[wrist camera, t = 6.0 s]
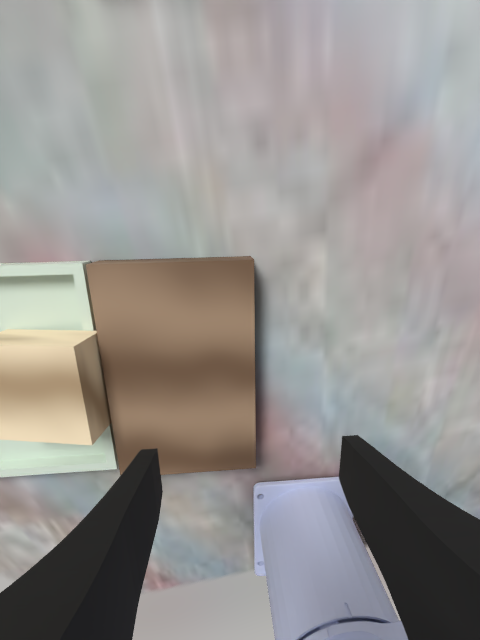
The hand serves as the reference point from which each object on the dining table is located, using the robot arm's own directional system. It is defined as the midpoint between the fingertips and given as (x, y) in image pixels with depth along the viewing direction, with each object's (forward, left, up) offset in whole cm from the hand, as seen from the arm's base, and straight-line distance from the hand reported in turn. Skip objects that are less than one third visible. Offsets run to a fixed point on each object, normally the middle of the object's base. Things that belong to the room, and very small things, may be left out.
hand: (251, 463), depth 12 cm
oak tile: (0, +11, -8) cm, 14 cm away
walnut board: (0, +4, -9) cm, 10 cm away
